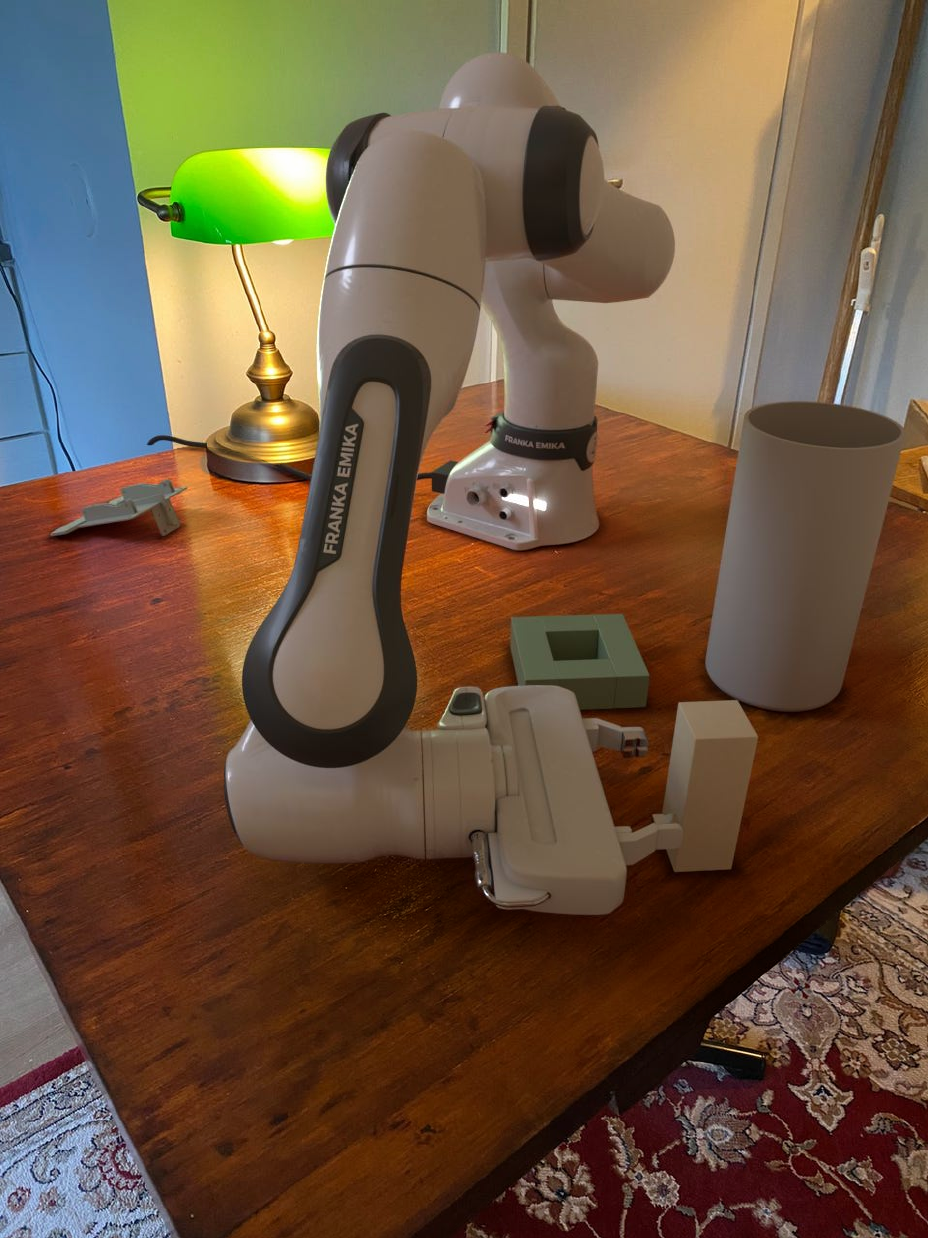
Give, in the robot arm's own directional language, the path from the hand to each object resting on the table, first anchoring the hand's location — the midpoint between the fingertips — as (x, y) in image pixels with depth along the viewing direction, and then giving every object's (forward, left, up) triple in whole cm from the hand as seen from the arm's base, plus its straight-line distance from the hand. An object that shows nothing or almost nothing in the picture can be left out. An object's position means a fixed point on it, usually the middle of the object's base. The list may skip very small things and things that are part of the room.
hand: (661, 783), depth 64 cm
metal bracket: (-77, +27, -7) cm, 82 cm away
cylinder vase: (+4, +27, -7) cm, 29 cm away
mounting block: (-13, +19, -7) cm, 24 cm away
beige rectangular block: (+3, +1, -7) cm, 7 cm away
